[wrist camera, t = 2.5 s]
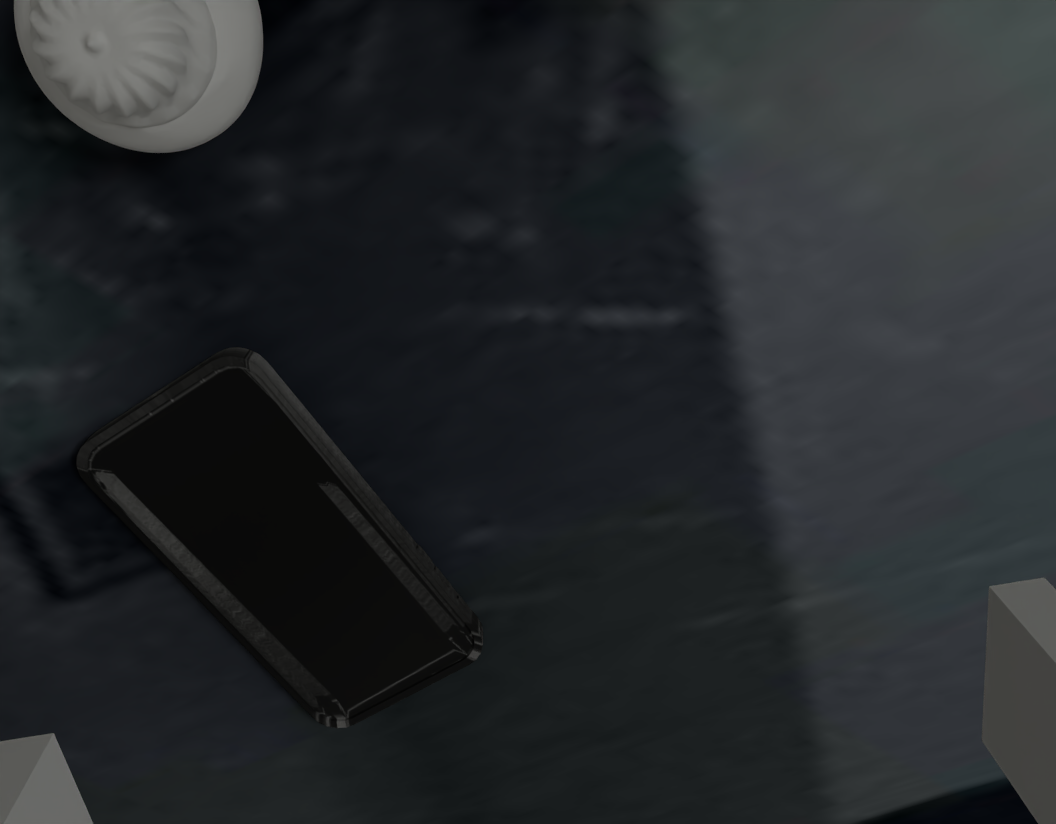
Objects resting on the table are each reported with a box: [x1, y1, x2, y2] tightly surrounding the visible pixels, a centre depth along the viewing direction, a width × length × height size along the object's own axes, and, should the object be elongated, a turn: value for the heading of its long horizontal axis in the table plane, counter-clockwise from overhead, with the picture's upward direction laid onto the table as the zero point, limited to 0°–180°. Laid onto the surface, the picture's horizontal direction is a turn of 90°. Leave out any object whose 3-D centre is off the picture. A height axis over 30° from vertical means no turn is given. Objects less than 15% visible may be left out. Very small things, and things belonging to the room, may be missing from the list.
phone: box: [76, 347, 483, 728], centre depth 36 cm, size 8×1×15 cm
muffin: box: [14, 0, 263, 153], centre depth 25 cm, size 6×6×7 cm
